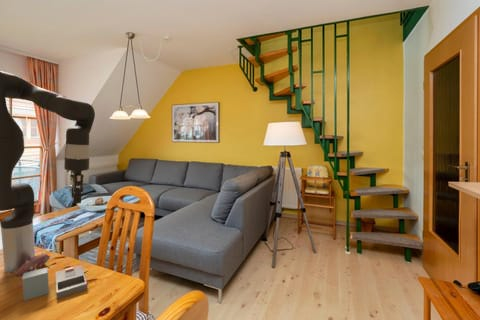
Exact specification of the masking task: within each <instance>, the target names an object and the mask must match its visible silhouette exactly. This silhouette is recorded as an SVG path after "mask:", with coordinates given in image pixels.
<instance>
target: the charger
mask: <svg viewBox="0 0 480 320" xmlns="http://www.w3.org/2000/svg"><path fill="white" fill-rule="evenodd" d="M48 269H49V268H48V267H44V268H39V269H35V270H34V271H31V272H26V273H23V275H22V279H21V281H22V283H21V284H22V296H23V301H24V302H25V301H27V300H28V301H29V300H31V299H35V298H38V297H43V296H46V295H49V292H50V286H49V285H50V283H49V270H48Z"/></svg>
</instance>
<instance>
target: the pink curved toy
mask: <svg viewBox="0 0 480 320" xmlns="http://www.w3.org/2000/svg"><path fill="white" fill-rule="evenodd" d="M50 258H51V256H50V255H48V254H47V253H41V254H38V255H35V256H34V257H33V258H31V259H30V260H29V261H26V263H24V264H23V265H22V266H21V267H20V268H19V269H18V270H17V271H16V272H15V275H16V276H17V277H20V276H23V273H27V272H31V271H35V270H39V269H42V267H43V266H44V265H45V264H46V263H47V262H48V261H49V260H50Z"/></svg>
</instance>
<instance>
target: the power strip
mask: <svg viewBox="0 0 480 320" xmlns="http://www.w3.org/2000/svg"><path fill="white" fill-rule="evenodd" d="M83 267H84V266H83V264H80V265H77V266H70V267H66V268H65V269H62V270H58V271H55V286H56V287H55V290H56V292H55V293H56V299H57V300H58V299H59V300H60V299H62V298H66V297H68V296H72V295H75V294H78V293H81V292H84V291H87V290H88V282H87V279H86V275H85V271H84V268H83Z"/></svg>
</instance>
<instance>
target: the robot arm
mask: <svg viewBox="0 0 480 320" xmlns="http://www.w3.org/2000/svg"><path fill="white" fill-rule="evenodd" d="M6 99H13V100H14V99H17V100H25V101H29V102H32V103H34V104H35V106H37V107H39V108H41V109H44V110H46V111H48V112H51V113H53V114H56V115H58V116H59V117H61V118H63V119H65V120H69V121H74V122H75V124H74V126H72V127H68V128H66V132H65V147H64V163H63V164H64V165H63V166H64V167H63V169H64V170H66V171H70V174H69V184H70V187H71V198H72V199H73V204H75V205H76V204H78V205H79V204H81V203H82V193H83V192H84V178H85V176H84V174H83V173H82V172H83V171H88V170H89V169H90V153H91V152H90V133H91V130H92V128H93V124H94V123H95V122H94V121H95V118H96V113H95V109H94V106H93V105H91V104H90V103H88V102H84V101H79V100H75V99H71V98H68V97H67V96H65V95H64V94H63V95H62V94H59V93H57V92H54V91H51V90H48V89H45V88H42V87H39V86H37V85H34V84H33V83H31V82H29V81H28V80H26V79H24V78H22V77H21V76H19V75H17V74H13V73H10V72H6V71H2V70H0V211H9V210H12V211H11V213H9V214H8V215H7V216H5V217H3V218H2V219H1V221H0V231H1V241H2V243H1V244H2V255H3V256H2V258H3V270H4V272H5V273H16V271H17V270H18V269H19V268H20V267H21V266H22V265H23V264H24V263H26V261H29V260H30V259H31V258H33V257H34V256H36V251H35V249H36V248H35V235H34V223H33V221H34V216H35V192H34V189H33V187H32V185H30V184H29V183H27V182H20V183H12V176H13V175H12V174H13V172H14V169H15V168H16V165H17V164H18V163H19V161H20V159H21V158H22V156H23V154H24V152H25V138H24V132H23V131H22V128H21V127H20V126H19V124H18V123H17V122H16V120H15V119H14V117H13V115H11V113H10V112H9V109H8V106H7V101H6Z"/></svg>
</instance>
